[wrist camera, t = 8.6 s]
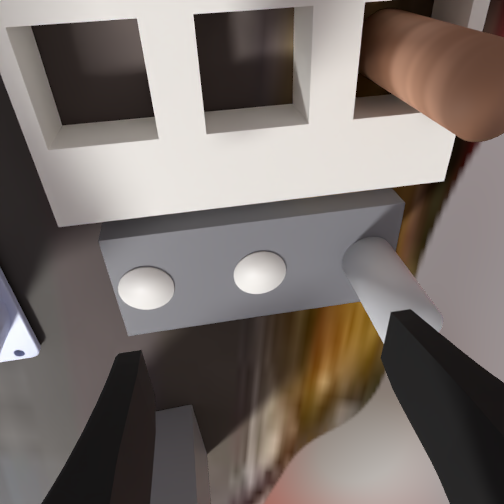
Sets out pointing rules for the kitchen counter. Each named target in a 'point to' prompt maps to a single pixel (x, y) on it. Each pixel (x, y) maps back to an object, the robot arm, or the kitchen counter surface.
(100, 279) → the kitchen counter surface
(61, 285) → the kitchen counter surface
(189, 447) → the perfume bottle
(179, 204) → the peg board
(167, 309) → the studded grey block
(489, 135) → the terracotta pin
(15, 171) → the kitchen counter surface
